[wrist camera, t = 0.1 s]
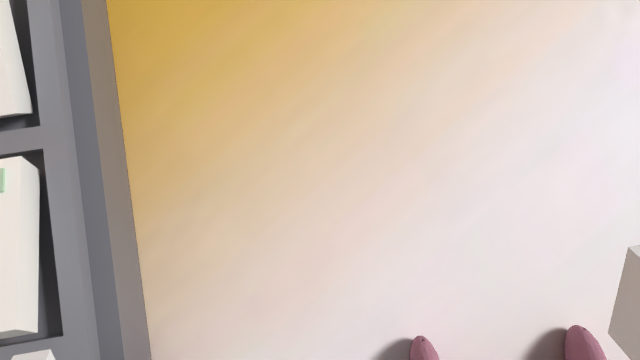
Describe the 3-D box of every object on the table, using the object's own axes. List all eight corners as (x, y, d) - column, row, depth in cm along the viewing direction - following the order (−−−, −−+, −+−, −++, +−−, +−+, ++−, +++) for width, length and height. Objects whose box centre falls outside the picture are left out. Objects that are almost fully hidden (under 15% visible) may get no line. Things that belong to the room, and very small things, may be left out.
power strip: (171, 516, 26) (142, 582, 21) (-18, 554, 25) (-94, 632, 20) (103, -18, 29) (64, -73, 24) (-67, 3, 28) (-144, -48, 23)
